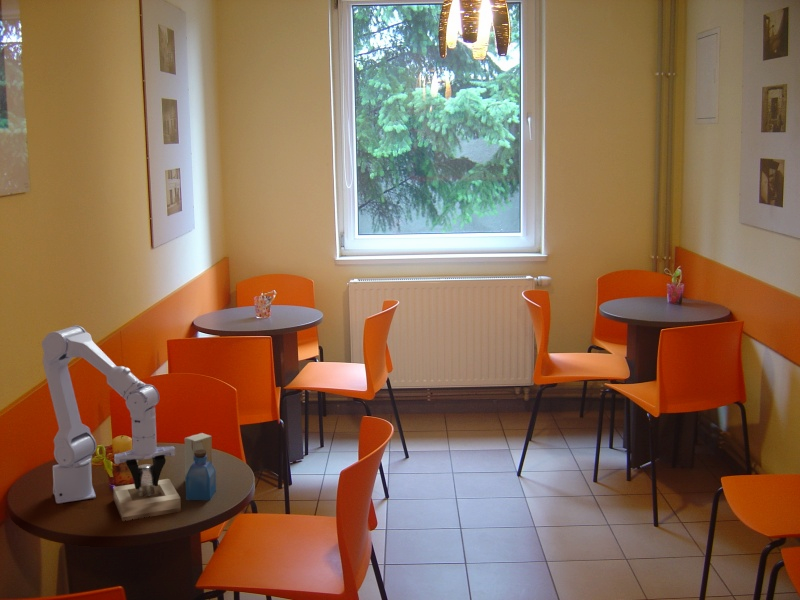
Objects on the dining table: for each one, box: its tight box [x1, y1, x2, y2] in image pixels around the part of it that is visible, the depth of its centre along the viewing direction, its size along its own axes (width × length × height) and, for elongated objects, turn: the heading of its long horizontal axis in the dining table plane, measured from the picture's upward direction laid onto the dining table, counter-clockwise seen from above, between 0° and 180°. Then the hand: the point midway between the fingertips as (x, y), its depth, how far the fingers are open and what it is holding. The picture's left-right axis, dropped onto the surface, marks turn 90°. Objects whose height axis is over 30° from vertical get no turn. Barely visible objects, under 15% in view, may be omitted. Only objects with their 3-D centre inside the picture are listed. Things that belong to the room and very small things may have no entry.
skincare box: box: [184, 432, 213, 481], centre depth 232 cm, size 6×4×12 cm
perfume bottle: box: [185, 449, 217, 501], centre depth 222 cm, size 6×6×12 cm
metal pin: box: [138, 463, 155, 496], centre depth 215 cm, size 4×4×7 cm
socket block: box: [112, 478, 182, 522], centre depth 215 cm, size 14×14×4 cm
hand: (146, 486), depth 215 cm, fingers closed on metal pin, 4 cm apart
